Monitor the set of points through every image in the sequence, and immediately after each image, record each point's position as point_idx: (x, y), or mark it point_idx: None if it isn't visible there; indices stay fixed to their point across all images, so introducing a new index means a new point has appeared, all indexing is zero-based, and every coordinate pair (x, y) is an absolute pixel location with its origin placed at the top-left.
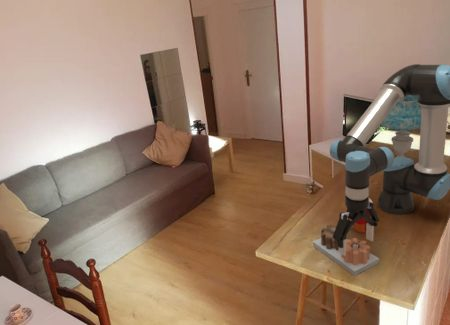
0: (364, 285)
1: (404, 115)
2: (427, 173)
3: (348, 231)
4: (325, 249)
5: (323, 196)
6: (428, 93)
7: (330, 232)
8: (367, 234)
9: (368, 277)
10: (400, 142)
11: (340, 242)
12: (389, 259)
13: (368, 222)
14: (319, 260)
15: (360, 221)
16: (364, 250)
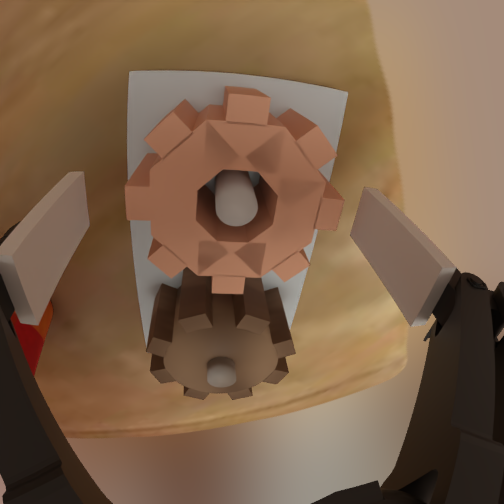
0: (359, 19)
1: None
2: None
3: (461, 340)
4: (293, 299)
5: (64, 431)
6: None
7: (237, 369)
8: (73, 236)
9: (292, 31)
10: None
11: (460, 273)
12: (69, 64)
13: (13, 325)
14: (344, 266)
15: (24, 336)
16: (237, 119)
